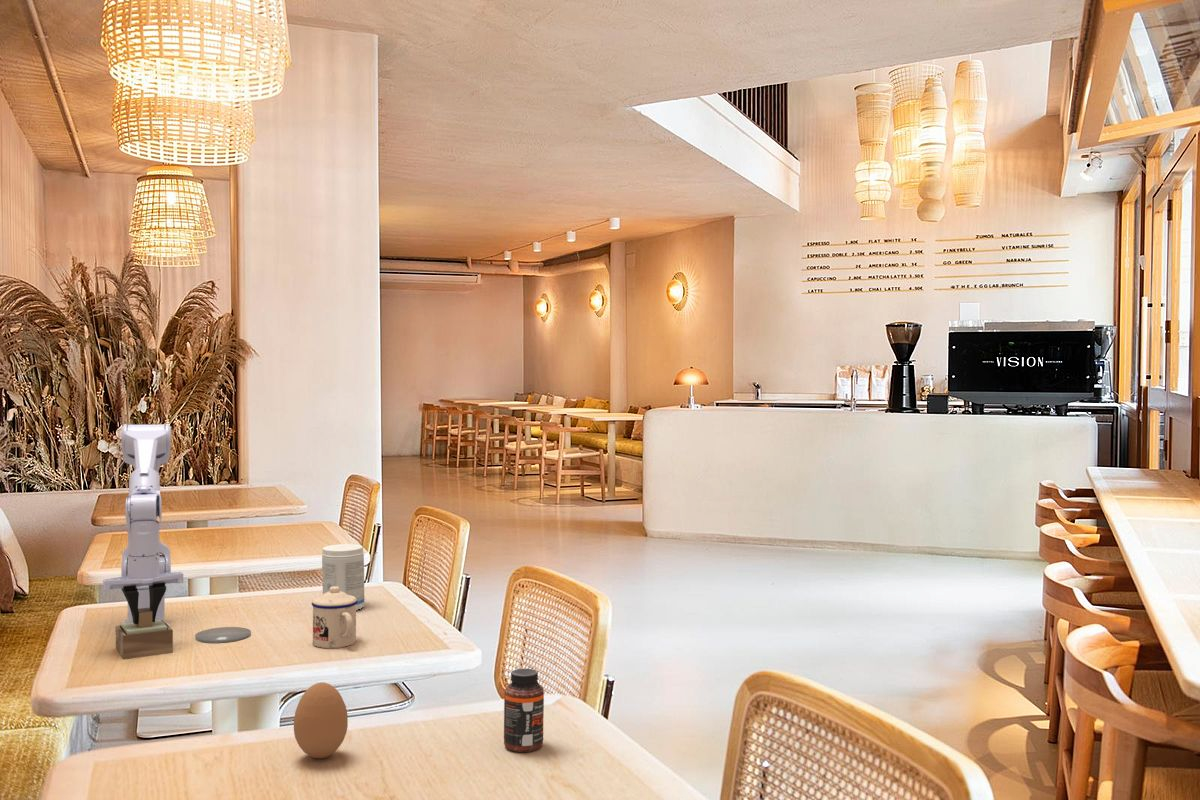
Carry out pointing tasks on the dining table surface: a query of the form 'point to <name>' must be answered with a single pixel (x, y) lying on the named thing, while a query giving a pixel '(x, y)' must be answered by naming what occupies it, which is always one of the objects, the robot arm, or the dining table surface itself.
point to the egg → (320, 720)
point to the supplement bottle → (523, 712)
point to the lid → (144, 623)
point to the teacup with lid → (334, 619)
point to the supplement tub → (344, 570)
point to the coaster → (223, 635)
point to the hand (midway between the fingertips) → (143, 622)
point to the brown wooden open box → (144, 643)
